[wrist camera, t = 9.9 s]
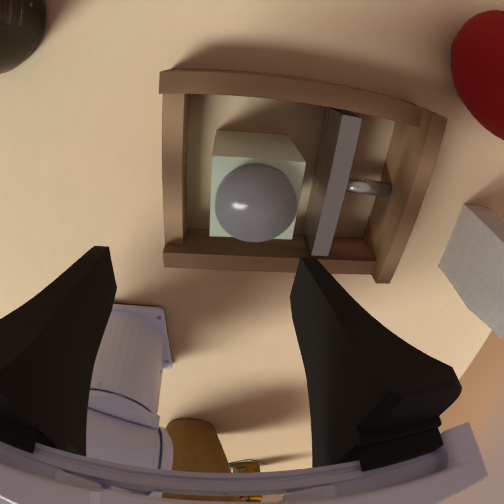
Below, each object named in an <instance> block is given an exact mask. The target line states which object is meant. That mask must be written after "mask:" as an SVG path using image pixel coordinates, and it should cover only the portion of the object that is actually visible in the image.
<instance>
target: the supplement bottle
mask: <svg viewBox="0 0 504 504" xmlns="http://www.w3.org/2000/svg"><path fill="white" fill-rule="evenodd" d="M45 19H46V6H45V1H44V0H0V74H2V73H6V72H8V71H11V70H13V69H14V68H16V67H17V66H19V65H20V64H21V63H22V62H24V61H25V60H26V59H27V57H28V56H29V55H30V54H31V52H32V51H33V50H34V48H35V47H36V45H37V43H38V41H39V39H40V37H41V34H42V32H43V28H44V25H45Z"/></svg>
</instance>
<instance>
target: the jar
mask: <svg viewBox="0 0 504 504" xmlns="http://www.w3.org/2000/svg"><path fill="white" fill-rule="evenodd" d="M305 165H306V162H305V160H304V159H303V157H302V156H301V154H300V153H299V151H298V149H297V148H296V146H295V145H294V143H293V142H292V140H291V139H290V137H289V136H288V135H279V134H268V133H256V132H241V131H221V130H216V136H215V142H214V148H213V154H212V172H211V200H210V236H221V237H235V238H237V239H239V240H242V241H247V242H263V241H267V240H270V239H292V237H293V232H294V226H295V221H296V216H297V210H298V205H299V199H300V194H301V188H302V183H303V177H304V171H305Z"/></svg>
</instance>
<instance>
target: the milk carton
mask: <svg viewBox="0 0 504 504" xmlns="http://www.w3.org/2000/svg"><path fill="white" fill-rule="evenodd" d="M438 266H439V267H440V269H441V270H442V271H443V273H444V274H445V275H446V277H447V278H448V280H449V281H450V282H451V284H452V285H453V287H454V288H455V290H456V291H457V293H458V294H459V296H460V297H461V299H462V300H463V302H464V303H465V305H466V306H467V308H468V309H469V310H471V311H472V312H473V313H474V314H475V315H476V316H478V317H479V318H480V319H481V320H482V321H483V322H484V323H486V324H487V325H488V326H489V327H490V328H491V329H492V330H493V331H494V332H495V333H496V334H497V335H498V336H499V338H500V339H501V340H502V339H504V222H503V221H502V220H501V219H500V218H499V217H498V216H497V215H495V214H494V213H493V212H492V211H491V210H490V209H489V208H486V207H479V206H473V205H467V204H463V207H462V209H461V212H460V215H459V217H458V220H457V223H456V225H455V228H454V230H453V233H452V235H451V238H450V240H449V242H448V245H447V247H446V249H445V252H444V254H443V256H442V259H441V261H440V263H439V265H438Z"/></svg>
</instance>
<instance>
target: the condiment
mask: <svg viewBox="0 0 504 504" xmlns="http://www.w3.org/2000/svg"><path fill="white" fill-rule="evenodd" d="M262 465H265V464H263V463H260V462H256V461H252V460H245V461H239V462H235V463H231V464H229V467H230V469H233V473H256V472H260V467H259V466H262ZM238 497H239V501H240V502H261V500H262V495H255V496H238Z"/></svg>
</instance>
